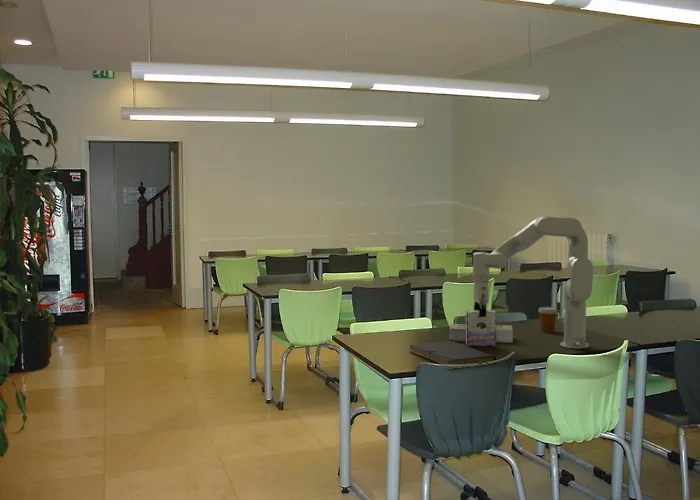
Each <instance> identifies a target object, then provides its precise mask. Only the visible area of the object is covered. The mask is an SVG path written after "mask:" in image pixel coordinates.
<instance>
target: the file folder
mask: <svg viewBox="0 0 700 500" xmlns="http://www.w3.org/2000/svg"><path fill="white" fill-rule="evenodd" d="M410 349H411V350H413V351H414V352H417V353H419V354H422V355H425V356H428V357H430V358H432V359H435V360H438V361H440V362H442V363H444V364H467V363H478V362H486V361H493V360H496V361H497V357H496V356H494V355H492V354H489V353H487V352H483V351H480V350H478V349H475V348H473V347H467V346H466V344H462V343H459V342H457V341H449V340H445V341H444V340H443V341H435V342H424V343H421V342H420V343H416V344H409V350H410Z"/></svg>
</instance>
